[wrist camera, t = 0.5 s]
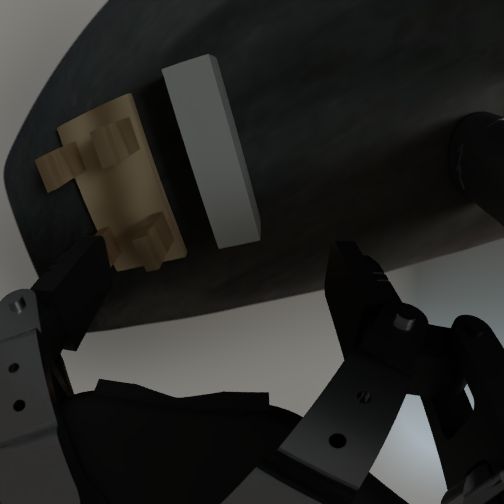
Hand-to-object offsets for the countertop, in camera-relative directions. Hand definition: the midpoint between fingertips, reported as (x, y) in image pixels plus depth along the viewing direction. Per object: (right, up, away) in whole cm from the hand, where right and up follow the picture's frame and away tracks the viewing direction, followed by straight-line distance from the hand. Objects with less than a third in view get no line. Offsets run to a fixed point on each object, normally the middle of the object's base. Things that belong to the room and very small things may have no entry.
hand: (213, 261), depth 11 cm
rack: (-11, +6, +17) cm, 21 cm away
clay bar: (-1, +9, +15) cm, 18 cm away
